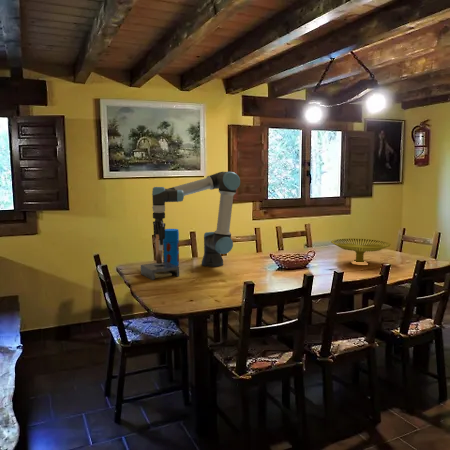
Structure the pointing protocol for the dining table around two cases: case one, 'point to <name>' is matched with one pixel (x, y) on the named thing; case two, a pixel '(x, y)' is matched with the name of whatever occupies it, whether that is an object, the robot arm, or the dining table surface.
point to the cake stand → (360, 247)
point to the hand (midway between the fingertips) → (159, 249)
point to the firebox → (159, 270)
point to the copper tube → (158, 251)
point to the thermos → (171, 246)
